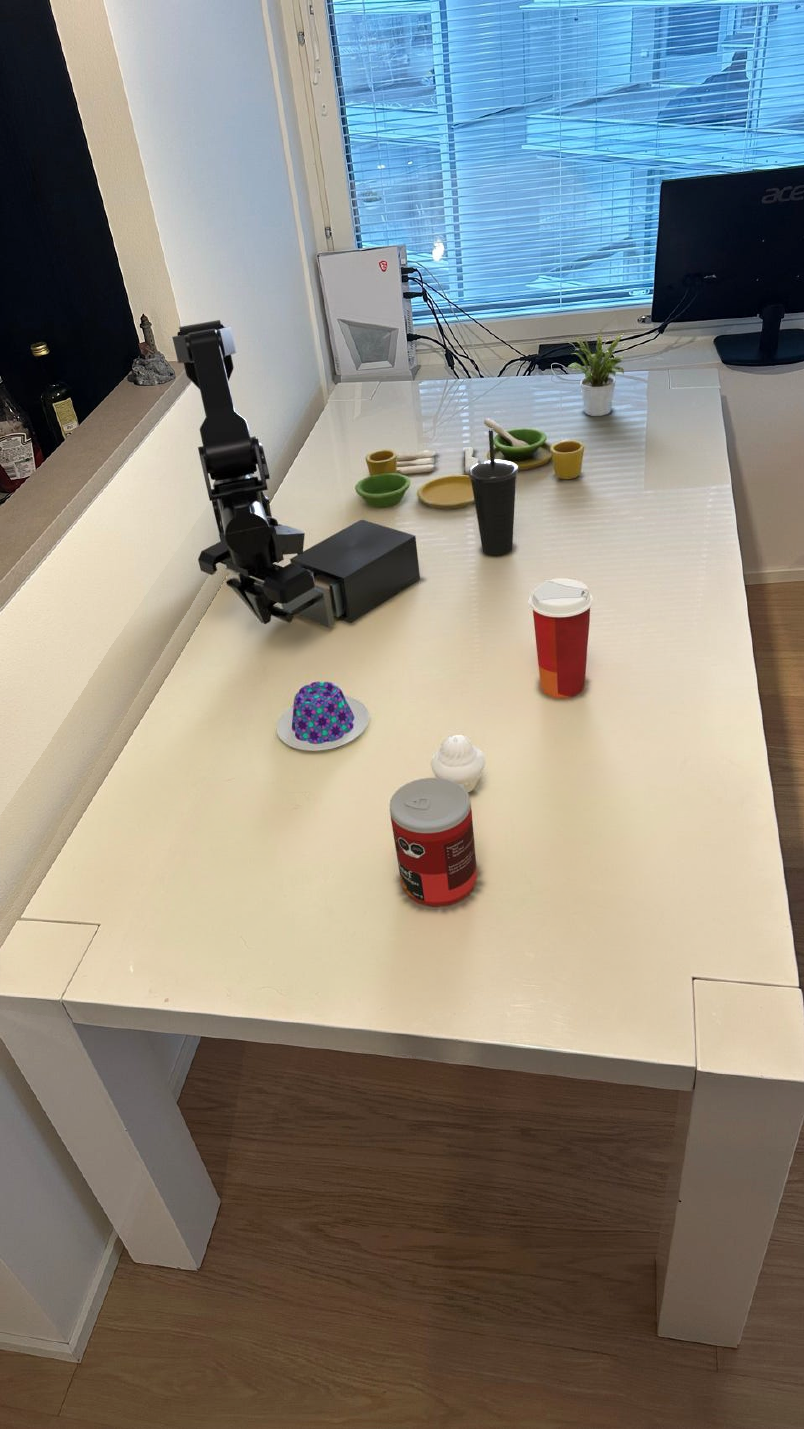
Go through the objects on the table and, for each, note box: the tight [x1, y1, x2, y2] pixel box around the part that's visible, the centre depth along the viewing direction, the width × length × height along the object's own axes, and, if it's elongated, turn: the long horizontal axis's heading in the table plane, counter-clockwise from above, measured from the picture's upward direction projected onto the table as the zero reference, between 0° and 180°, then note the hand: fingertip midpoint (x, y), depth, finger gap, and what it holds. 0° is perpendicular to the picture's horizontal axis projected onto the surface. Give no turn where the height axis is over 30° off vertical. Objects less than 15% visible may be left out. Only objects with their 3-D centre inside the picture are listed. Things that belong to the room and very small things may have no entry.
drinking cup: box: [467, 428, 519, 557], centre depth 158 cm, size 8×8×20 cm
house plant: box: [557, 329, 628, 417], centre depth 203 cm, size 14×14×16 cm
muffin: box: [430, 734, 486, 794], centre depth 115 cm, size 6×6×7 cm
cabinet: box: [289, 518, 421, 624], centre depth 155 cm, size 16×12×8 cm
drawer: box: [271, 567, 346, 629], centre depth 151 cm, size 20×10×6 cm, turn 138°
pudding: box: [275, 681, 370, 752], centre depth 128 cm, size 12×12×5 cm
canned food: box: [389, 777, 478, 907], centre depth 102 cm, size 8×8×11 cm
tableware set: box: [354, 417, 585, 509], centre depth 186 cm, size 41×28×6 cm
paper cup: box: [527, 577, 594, 699], centre depth 127 cm, size 8×8×14 cm
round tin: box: [313, 573, 336, 604], centre depth 152 cm, size 7×7×3 cm
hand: (266, 622), depth 146 cm, fingers closed, pressing on drawer
